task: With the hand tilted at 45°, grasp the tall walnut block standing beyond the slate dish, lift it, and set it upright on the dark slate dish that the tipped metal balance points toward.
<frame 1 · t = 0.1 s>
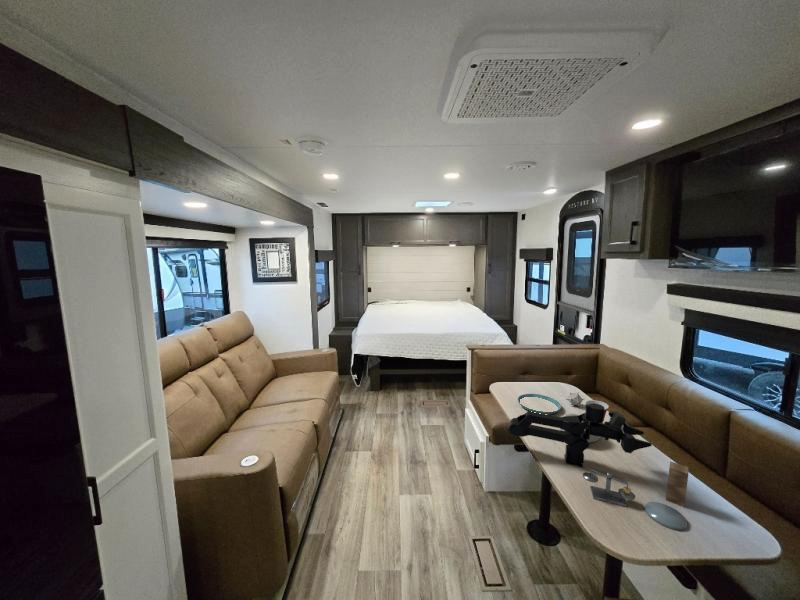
hand: (647, 438, 126), 17 cm above the table, tool horizontal, fingers open, 9 cm apart
slate dish: (665, 516, 108), on the table
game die: (574, 405, 192), on the table
walnut block: (675, 499, 116), on the table
teal ring: (538, 407, 190), on the table
plastic cup: (594, 425, 169), on the table
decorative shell: (578, 437, 157), on the table
balance: (607, 496, 117), on the table
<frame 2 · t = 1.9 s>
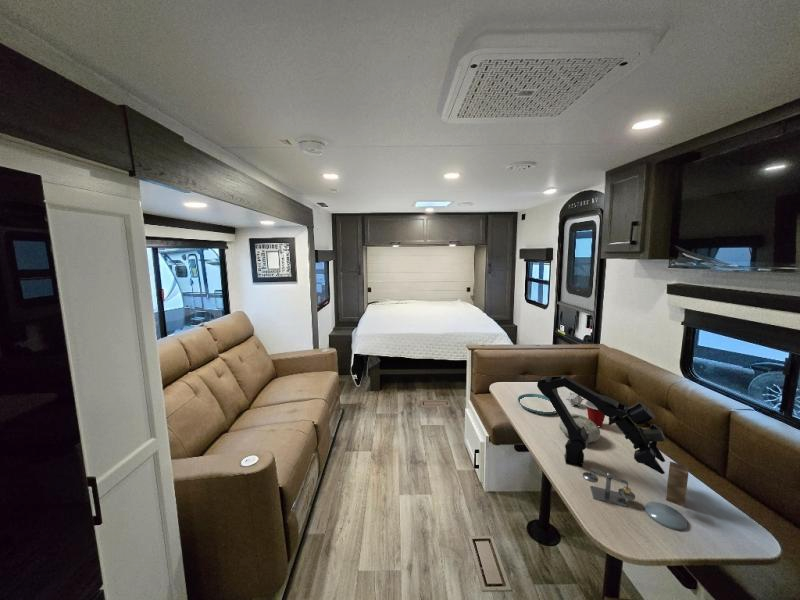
hand: (663, 467, 117), 11 cm above the table, tool tilted 45°, fingers open, 9 cm apart
nothing on the table moved.
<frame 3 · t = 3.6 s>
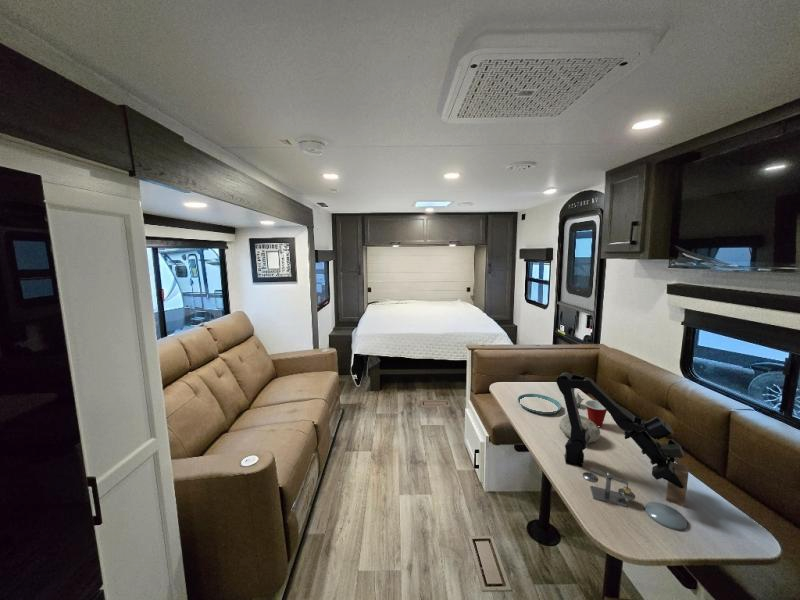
hand: (682, 483, 114), 7 cm above the table, tool tilted 45°, fingers closed on walnut block, 5 cm apart
walnut block: (675, 499, 116), on the table, touching gripper
everything else where it was.
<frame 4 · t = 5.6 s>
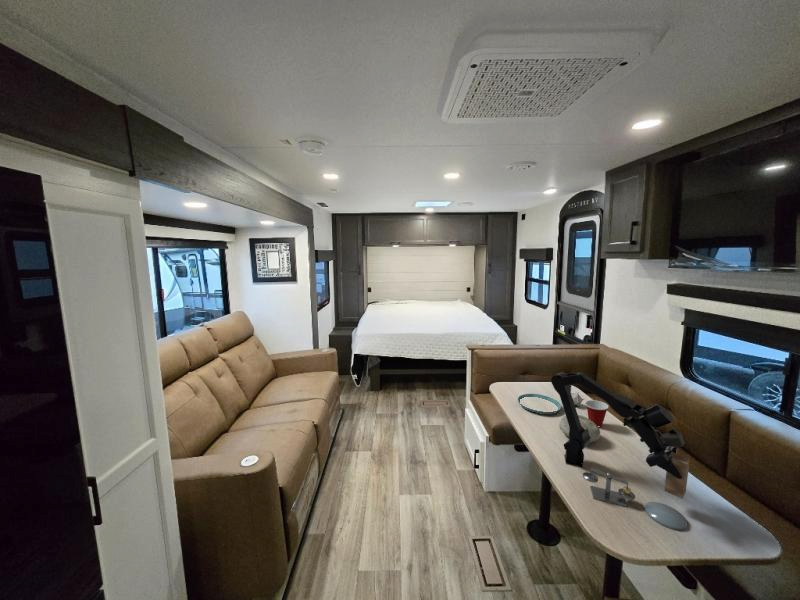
hand: (682, 475, 109), 13 cm above the table, tool tilted 45°, fingers closed on walnut block, 5 cm apart
walnut block: (674, 491, 111), point 6 cm above the table, touching gripper
everything else where it was.
when the fingers open (9 cm above the table, at t = 7.7 s): walnut block stays where it is, resting on slate dish.
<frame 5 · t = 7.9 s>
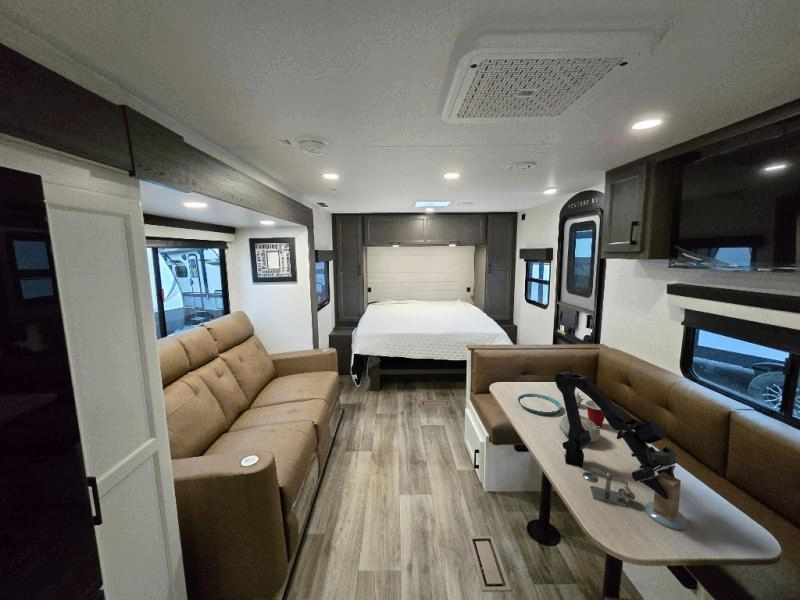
hand: (672, 495, 106), 9 cm above the table, tool tilted 45°, fingers open, 7 cm apart
walnut block: (665, 513, 108), point 1 cm above the table, touching slate dish
everything else where it was.
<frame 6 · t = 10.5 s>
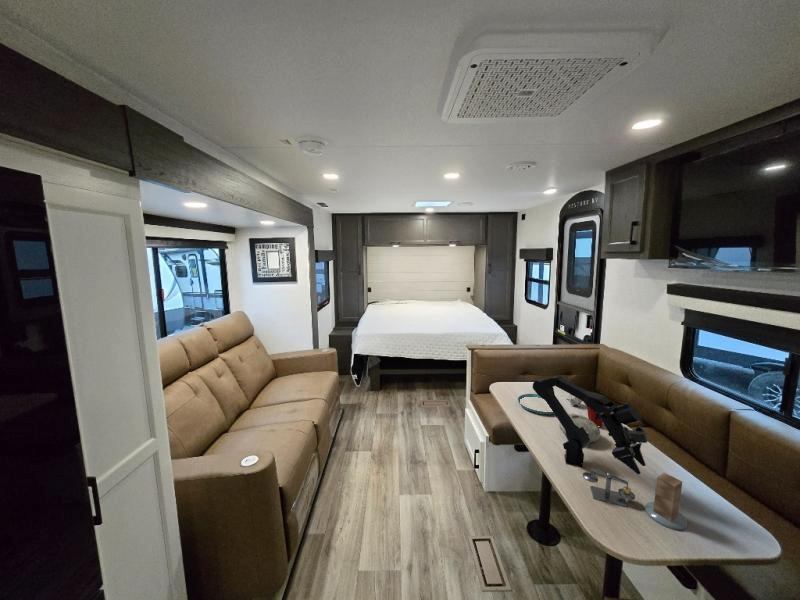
hand: (641, 469, 116), 11 cm above the table, tool tilted 40°, fingers open, 9 cm apart
nothing on the table moved.
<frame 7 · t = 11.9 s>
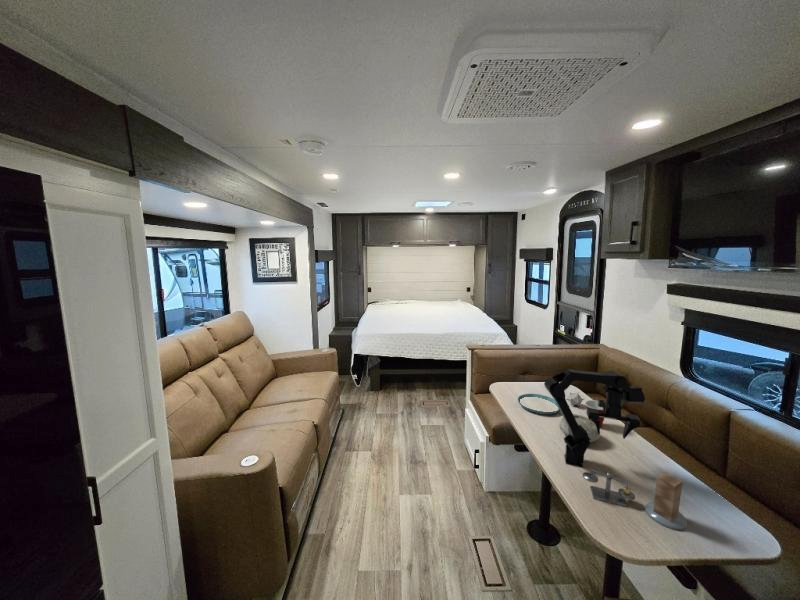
hand: (610, 435, 135), 13 cm above the table, tool pointing down, fingers open, 9 cm apart
nothing on the table moved.
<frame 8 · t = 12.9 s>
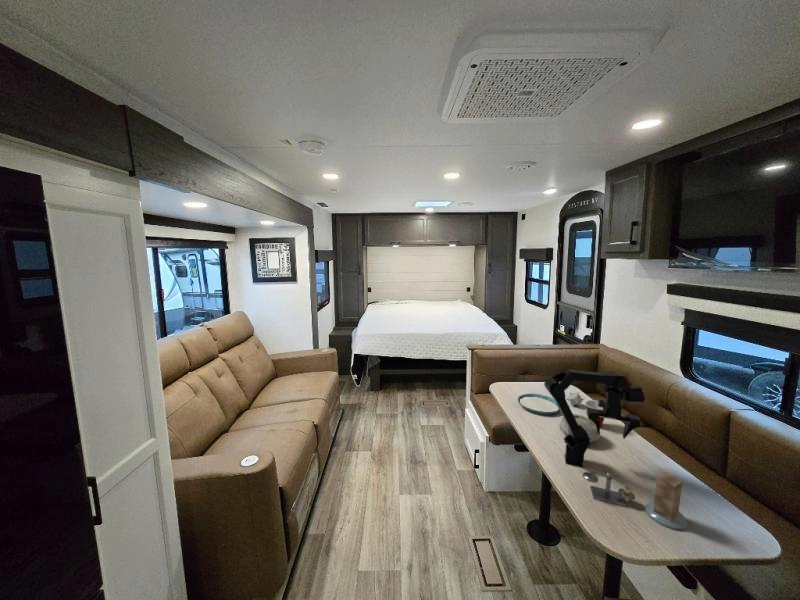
hand: (610, 435, 135), 13 cm above the table, tool pointing down, fingers open, 9 cm apart
nothing on the table moved.
at the end: walnut block inside the target area on the slate dish (0.0 cm from its centre), point 1.0 cm above the slate dish's base; walnut block tilted 0°; the gripper is holding nothing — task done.
